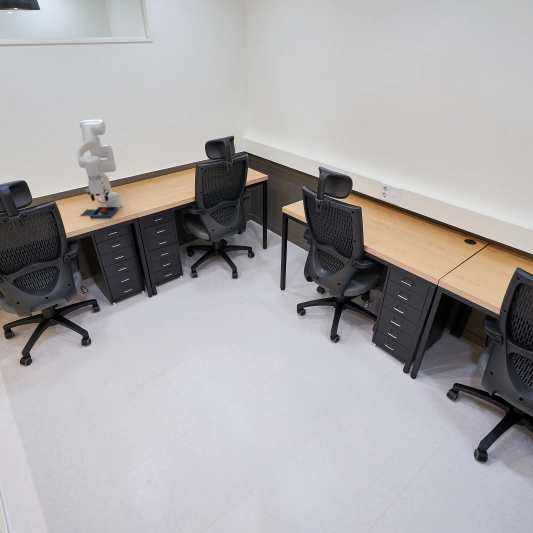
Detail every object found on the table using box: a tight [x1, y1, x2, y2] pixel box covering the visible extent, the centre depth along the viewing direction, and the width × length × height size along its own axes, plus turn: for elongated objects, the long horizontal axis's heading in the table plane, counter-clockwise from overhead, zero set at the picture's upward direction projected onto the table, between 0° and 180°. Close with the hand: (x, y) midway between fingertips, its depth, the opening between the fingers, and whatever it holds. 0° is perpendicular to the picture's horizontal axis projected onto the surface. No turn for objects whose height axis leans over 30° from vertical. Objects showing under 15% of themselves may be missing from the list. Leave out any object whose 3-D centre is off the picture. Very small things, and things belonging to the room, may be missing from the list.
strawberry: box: [100, 208, 107, 215], centre depth 261 cm, size 8×4×4 cm, turn 179°
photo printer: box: [105, 191, 122, 209], centre depth 268 cm, size 10×4×12 cm, turn 123°
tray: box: [89, 206, 119, 219], centre depth 261 cm, size 15×14×3 cm
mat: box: [80, 209, 96, 217], centre depth 264 cm, size 11×7×1 cm, turn 179°
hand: (100, 200), depth 255 cm, fingers open, 9 cm apart
